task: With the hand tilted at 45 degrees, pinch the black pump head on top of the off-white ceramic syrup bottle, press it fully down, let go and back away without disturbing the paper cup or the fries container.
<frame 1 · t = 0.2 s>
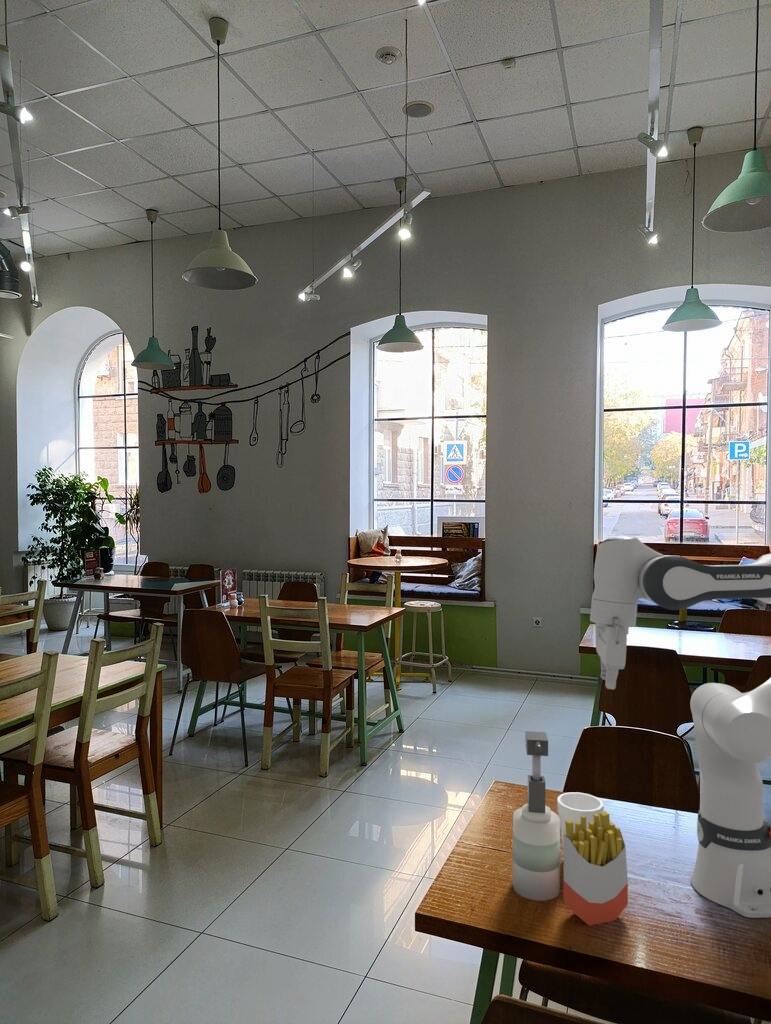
hand: (607, 683, 134), 40 cm above the table, tool pointing down, fingers open, 8 cm apart
decorated donut: (587, 830, 156), on the table
pump head: (537, 762, 130), point 25 cm above the table, slide at 5.0 cm
syrup bottle: (535, 887, 131), on the table
foam cup: (579, 863, 141), on the table
french fries container: (595, 918, 122), on the table
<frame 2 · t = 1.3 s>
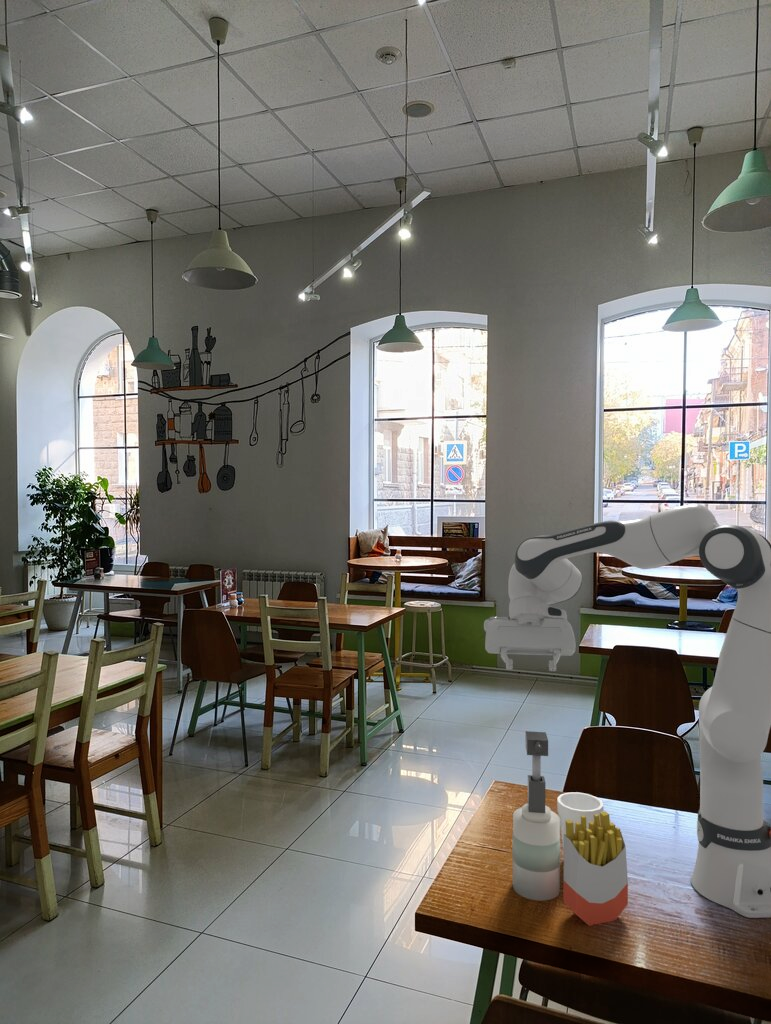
hand: (531, 668, 147), 40 cm above the table, tool tilted 45°, fingers open, 8 cm apart
nothing on the table moved.
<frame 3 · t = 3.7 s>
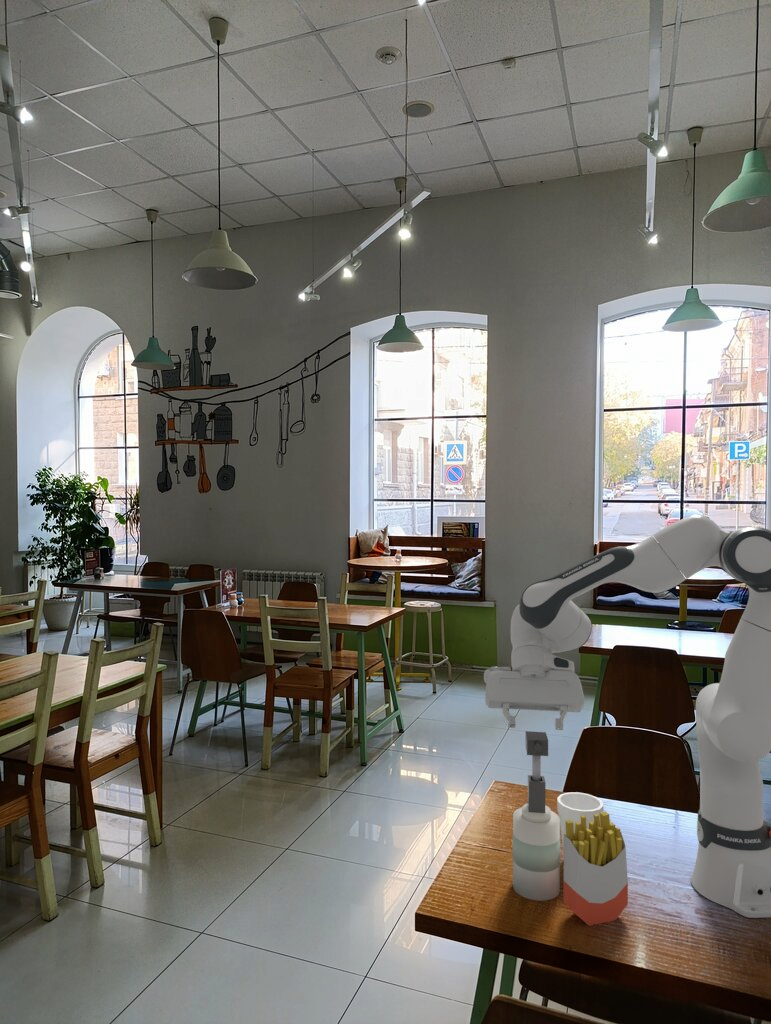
hand: (535, 727, 135), 31 cm above the table, tool tilted 45°, fingers open, 8 cm apart
nothing on the table moved.
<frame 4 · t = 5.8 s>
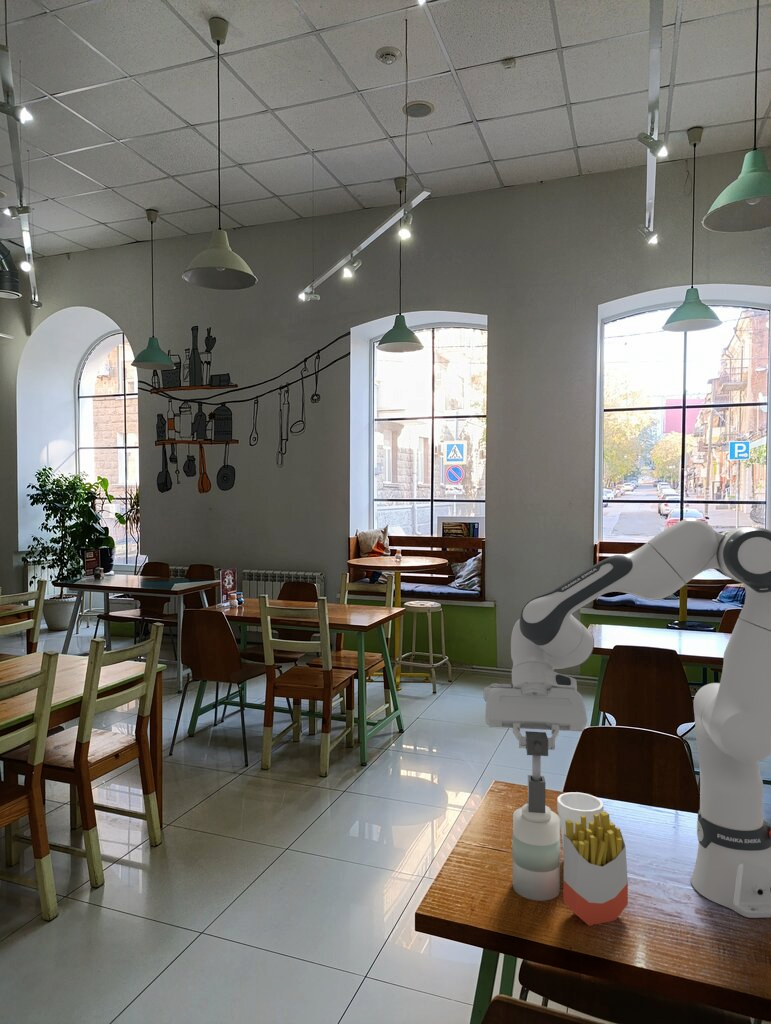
hand: (536, 747, 131), 28 cm above the table, tool tilted 45°, fingers closed on pump head, 4 cm apart
pump head: (537, 762, 130), point 25 cm above the table, slide at 5.0 cm, touching gripper
everything else where it was.
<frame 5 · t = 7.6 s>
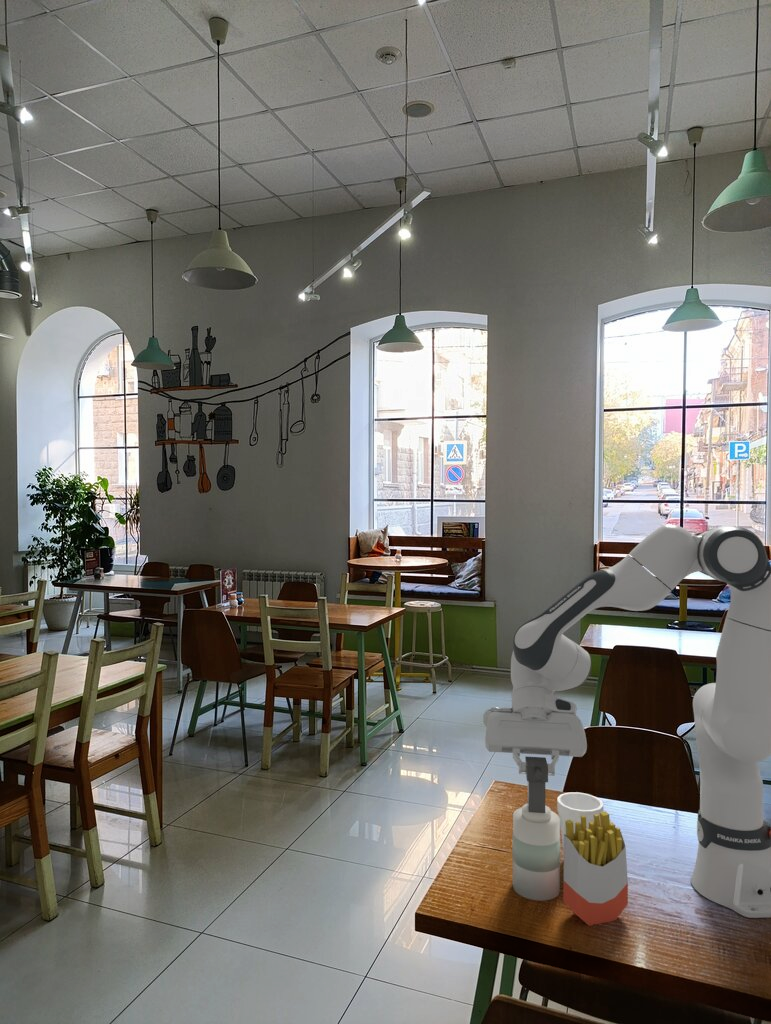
hand: (536, 773, 131), 23 cm above the table, tool tilted 45°, fingers closed on pump head, 4 cm apart
pump head: (537, 788, 129), point 20 cm above the table, slide at -0.1 cm, touching gripper
everything else where it was.
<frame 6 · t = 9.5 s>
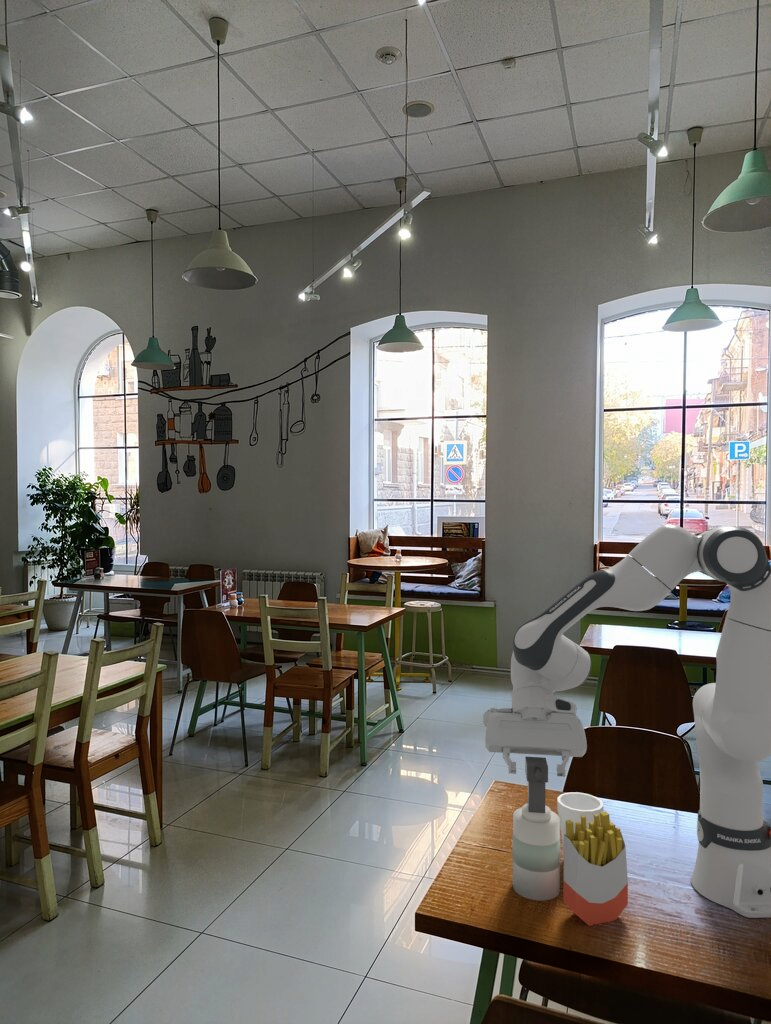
hand: (536, 773, 131), 23 cm above the table, tool tilted 45°, fingers open, 8 cm apart
pump head: (537, 789, 129), point 20 cm above the table, slide at -0.1 cm
everything else where it was.
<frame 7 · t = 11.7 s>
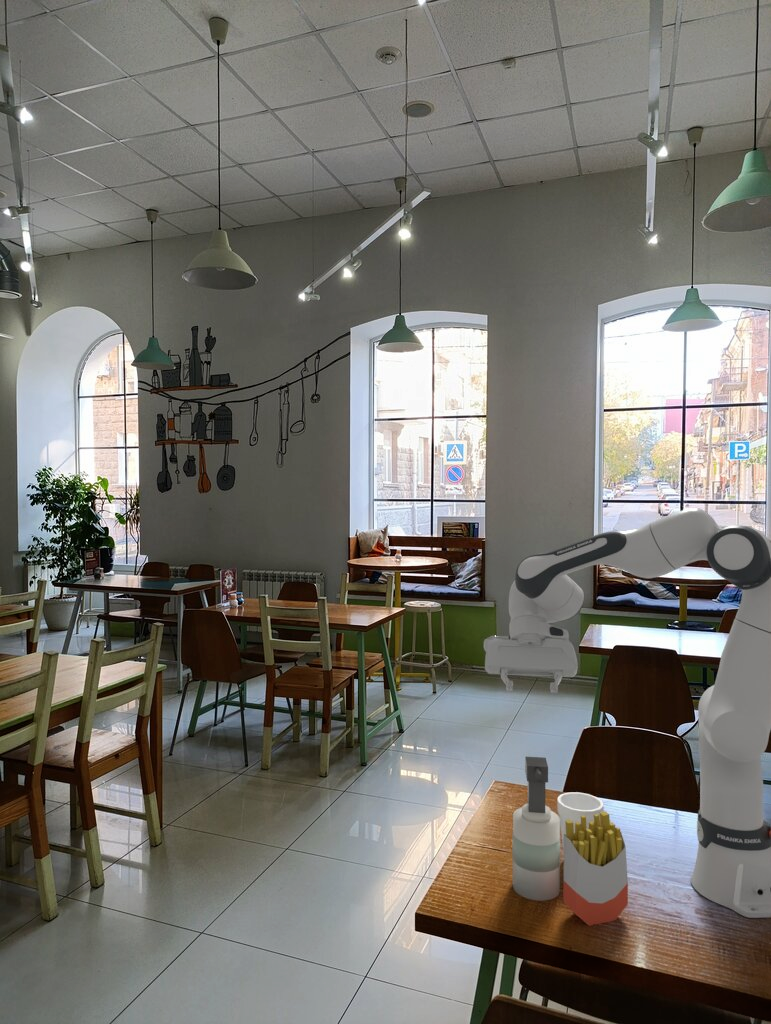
hand: (531, 690, 144), 36 cm above the table, tool tilted 45°, fingers open, 8 cm apart
nothing on the table moved.
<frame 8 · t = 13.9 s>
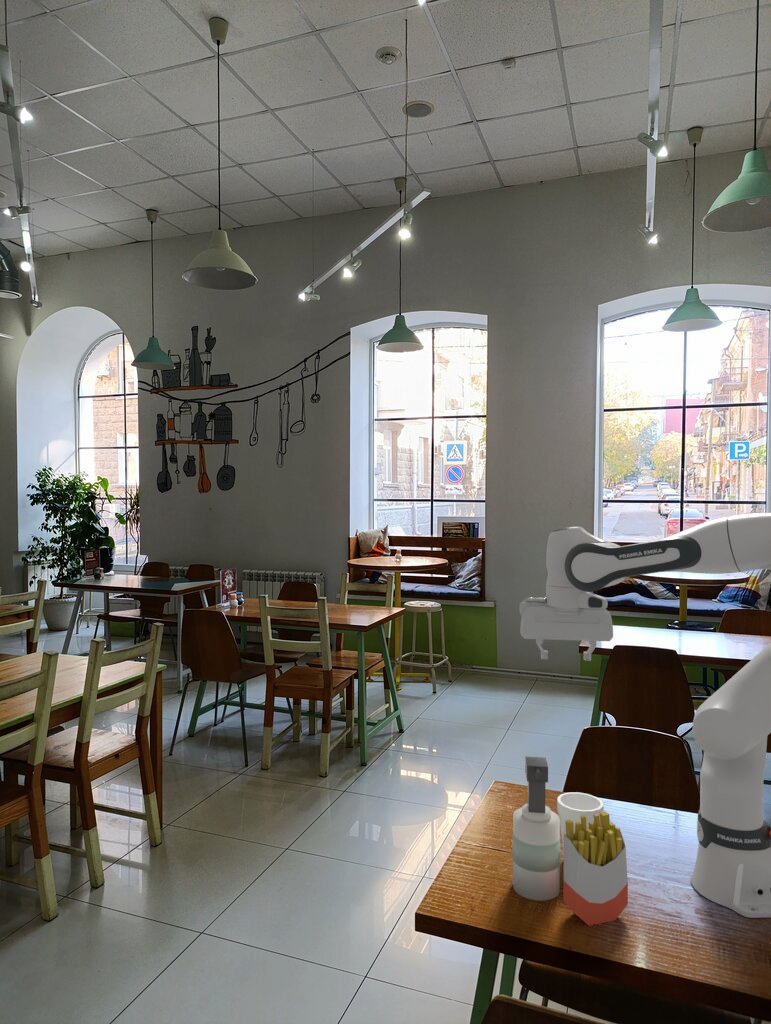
hand: (565, 659, 150), 41 cm above the table, tool pointing down, fingers open, 8 cm apart
nothing on the table moved.
at the end: pump head slide at -0.1 cm; french fries container moved 0.2 cm from its start; foam cup moved 0.2 cm from its start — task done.
